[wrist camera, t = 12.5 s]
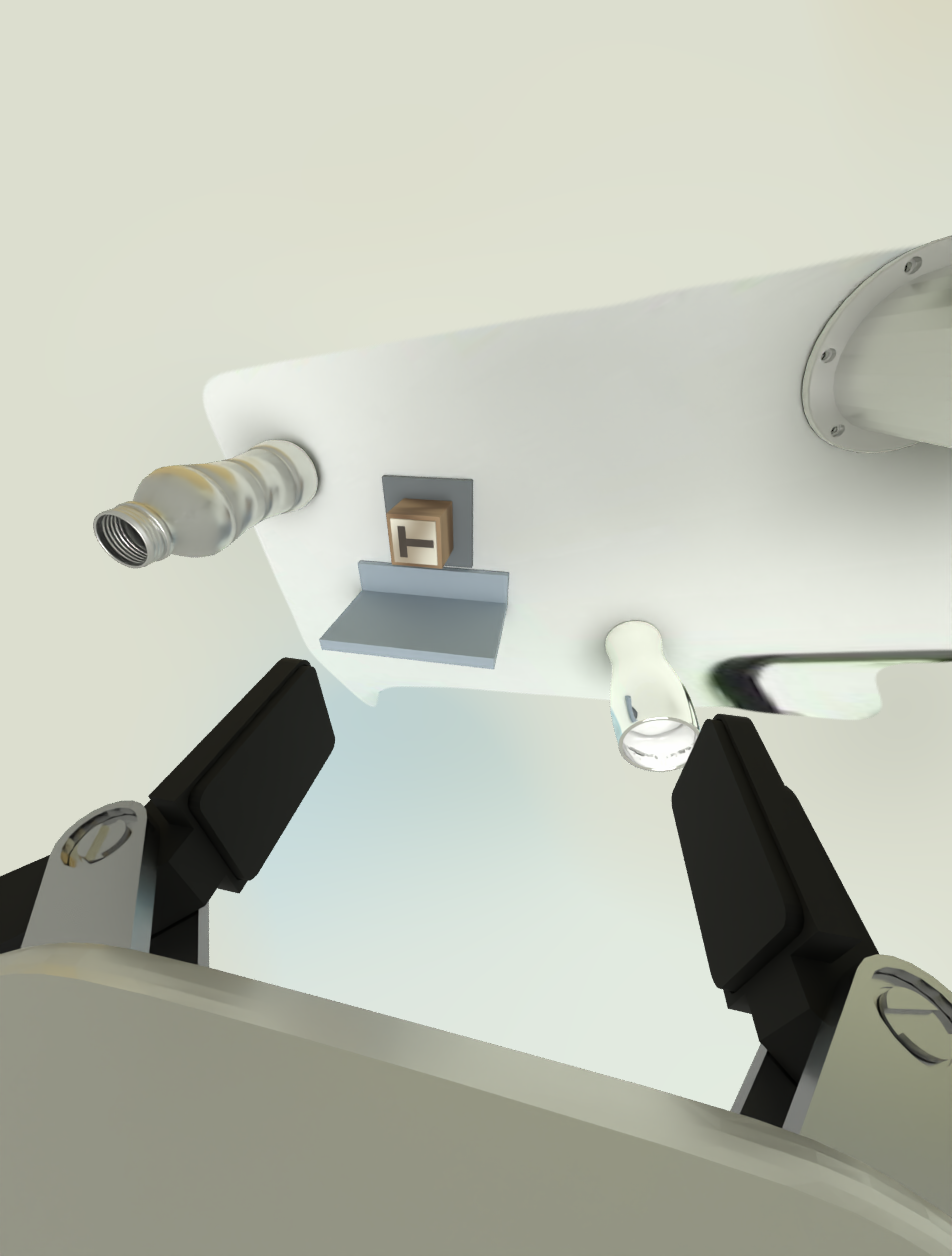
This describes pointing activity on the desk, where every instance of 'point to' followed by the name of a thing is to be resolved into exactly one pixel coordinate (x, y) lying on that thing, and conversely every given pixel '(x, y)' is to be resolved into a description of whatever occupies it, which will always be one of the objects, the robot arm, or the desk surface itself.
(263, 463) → the plastic bottle
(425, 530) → the letter cube
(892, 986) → the robot arm
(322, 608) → the desk surface
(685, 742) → the beer glass
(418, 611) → the screen
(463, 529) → the mat
